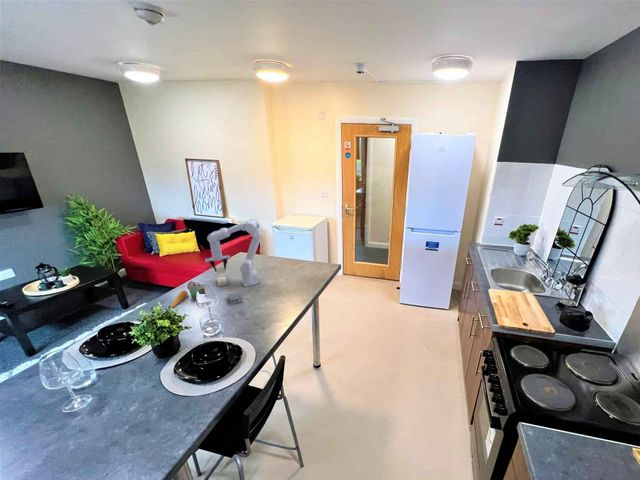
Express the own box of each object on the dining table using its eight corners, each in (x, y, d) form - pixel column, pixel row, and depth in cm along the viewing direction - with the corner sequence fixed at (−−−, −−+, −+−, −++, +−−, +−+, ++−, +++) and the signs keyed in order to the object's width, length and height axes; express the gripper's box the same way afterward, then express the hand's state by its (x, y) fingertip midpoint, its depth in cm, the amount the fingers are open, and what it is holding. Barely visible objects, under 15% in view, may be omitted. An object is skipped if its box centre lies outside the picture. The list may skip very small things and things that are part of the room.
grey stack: (238, 295, 180) (238, 292, 179) (241, 302, 174) (240, 298, 173) (228, 298, 178) (228, 294, 177) (230, 304, 171) (230, 300, 170)
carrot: (184, 296, 180) (179, 290, 178) (190, 293, 179) (185, 288, 177) (166, 316, 163) (161, 310, 160) (173, 313, 162) (167, 307, 160)
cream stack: (226, 279, 201) (225, 276, 200) (227, 284, 194) (227, 280, 193) (217, 281, 199) (216, 277, 197) (218, 286, 192) (217, 282, 191)
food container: (185, 298, 176) (181, 284, 172) (195, 294, 181) (191, 280, 177) (198, 303, 171) (194, 288, 166) (207, 299, 176) (204, 284, 171)
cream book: (223, 268, 195) (223, 265, 194) (225, 272, 189) (224, 269, 188) (215, 269, 193) (215, 266, 192) (217, 274, 187) (216, 270, 186)
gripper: (204, 254, 179) (208, 274, 184) (229, 251, 186) (233, 270, 191) (203, 251, 184) (207, 270, 190) (228, 248, 191) (231, 267, 197)
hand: (220, 270), depth 191 cm, fingers closed on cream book, 5 cm apart
